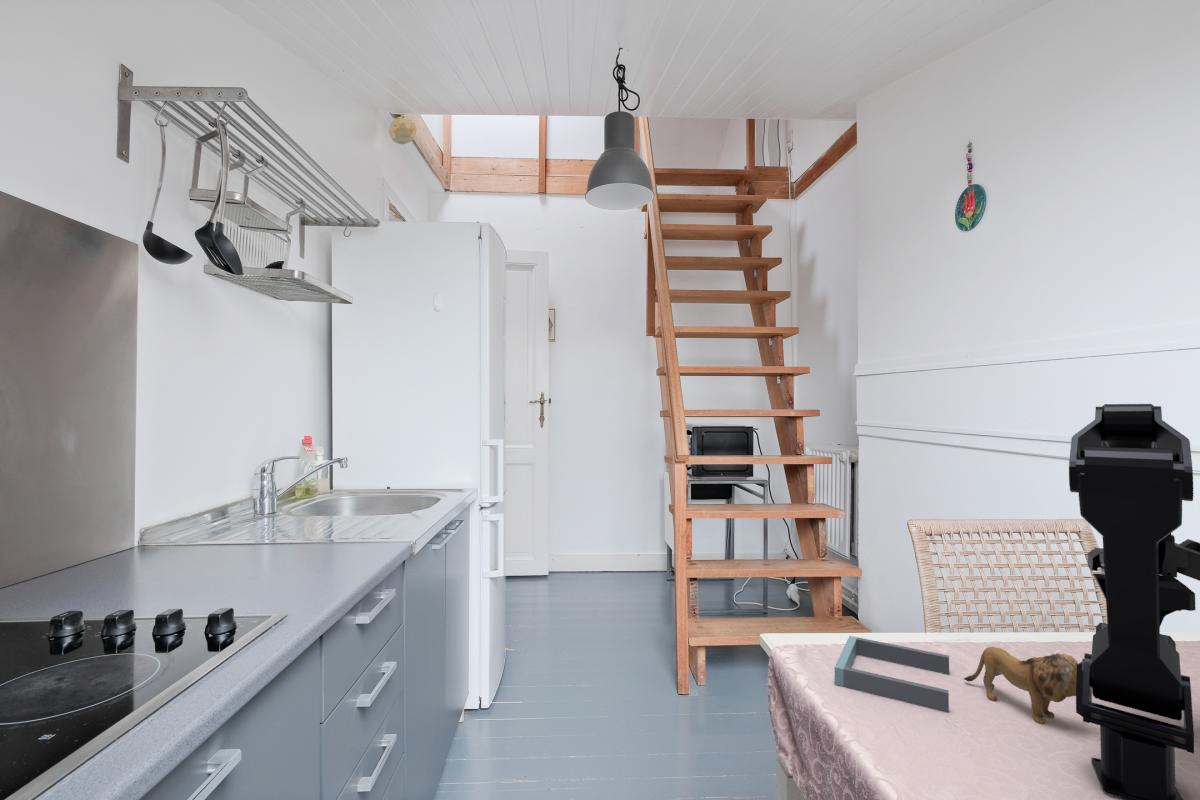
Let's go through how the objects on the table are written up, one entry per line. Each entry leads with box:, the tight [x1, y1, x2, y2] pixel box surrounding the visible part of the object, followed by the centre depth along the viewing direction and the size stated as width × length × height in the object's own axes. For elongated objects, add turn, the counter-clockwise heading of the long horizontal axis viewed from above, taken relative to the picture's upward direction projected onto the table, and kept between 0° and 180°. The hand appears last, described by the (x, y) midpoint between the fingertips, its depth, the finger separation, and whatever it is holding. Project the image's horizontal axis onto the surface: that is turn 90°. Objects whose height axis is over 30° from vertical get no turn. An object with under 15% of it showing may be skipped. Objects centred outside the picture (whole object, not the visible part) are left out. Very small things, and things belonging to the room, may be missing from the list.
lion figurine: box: [963, 646, 1079, 725], centre depth 76 cm, size 15×5×9 cm, turn 26°
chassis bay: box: [834, 635, 950, 713], centre depth 84 cm, size 14×14×2 cm
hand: (1136, 644), depth 69 cm, fingers open, 6 cm apart
